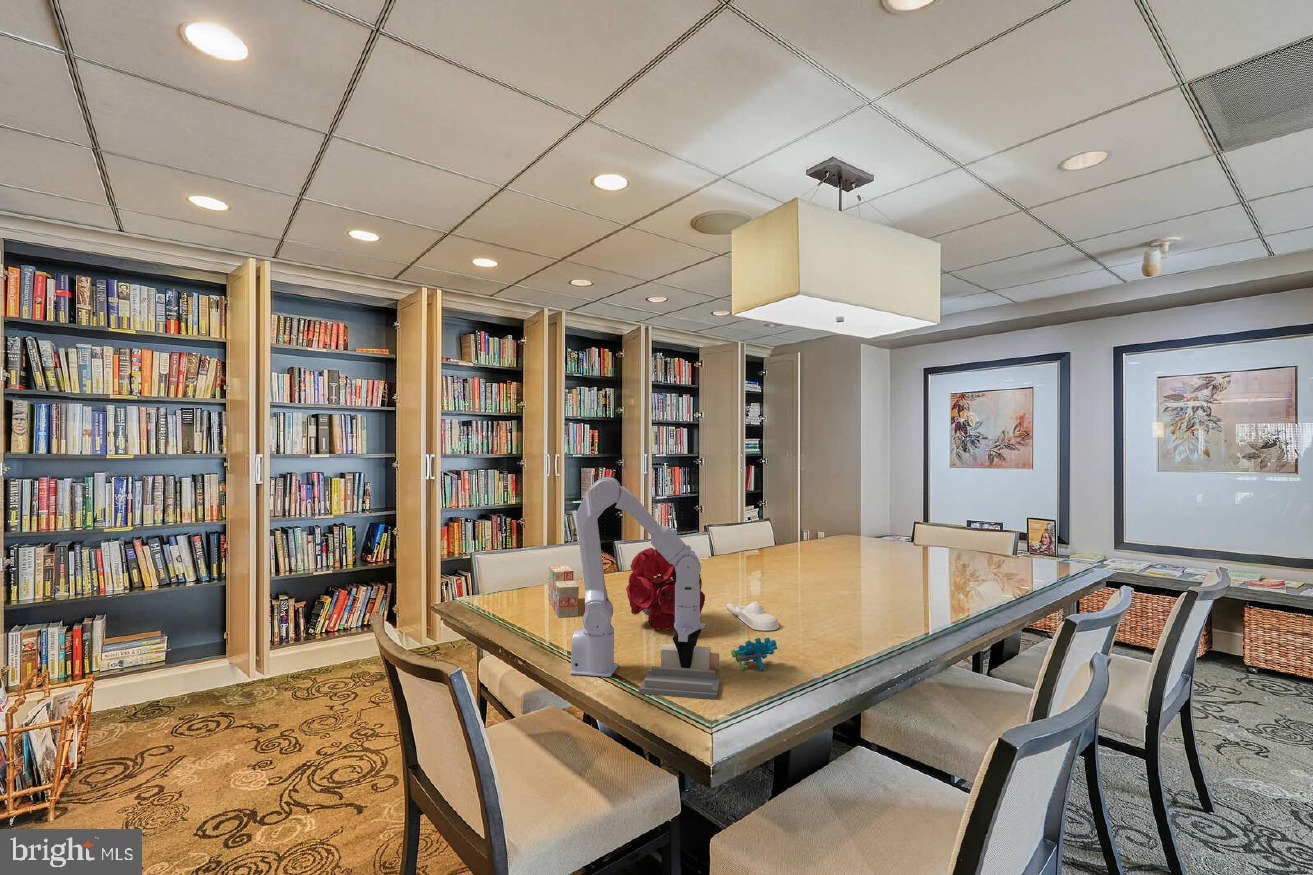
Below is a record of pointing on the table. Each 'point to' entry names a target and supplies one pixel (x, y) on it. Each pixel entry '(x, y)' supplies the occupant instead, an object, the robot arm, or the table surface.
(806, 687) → the table surface
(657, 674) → the cradle
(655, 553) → the bouquet
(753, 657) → the blue brick toy animal
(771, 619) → the white domed paddle shape
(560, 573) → the stack of blocks
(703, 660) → the cream rectangular bar
